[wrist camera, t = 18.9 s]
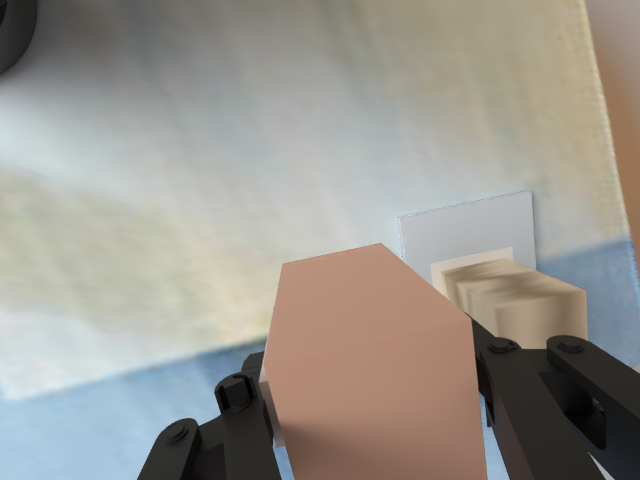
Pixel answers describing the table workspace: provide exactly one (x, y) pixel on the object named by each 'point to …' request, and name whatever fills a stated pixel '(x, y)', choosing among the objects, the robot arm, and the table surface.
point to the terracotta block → (373, 372)
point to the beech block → (517, 302)
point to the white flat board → (469, 235)
